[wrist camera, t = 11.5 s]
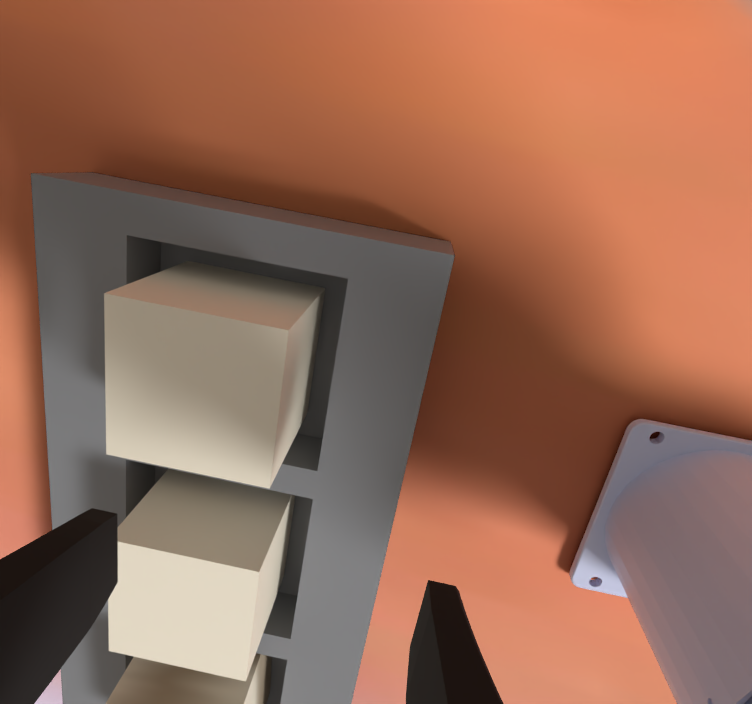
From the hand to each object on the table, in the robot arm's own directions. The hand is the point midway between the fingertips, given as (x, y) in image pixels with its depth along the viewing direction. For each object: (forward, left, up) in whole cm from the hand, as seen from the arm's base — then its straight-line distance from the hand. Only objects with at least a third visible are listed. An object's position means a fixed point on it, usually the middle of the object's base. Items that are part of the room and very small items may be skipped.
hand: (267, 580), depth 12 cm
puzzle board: (+4, +6, -9) cm, 12 cm away
